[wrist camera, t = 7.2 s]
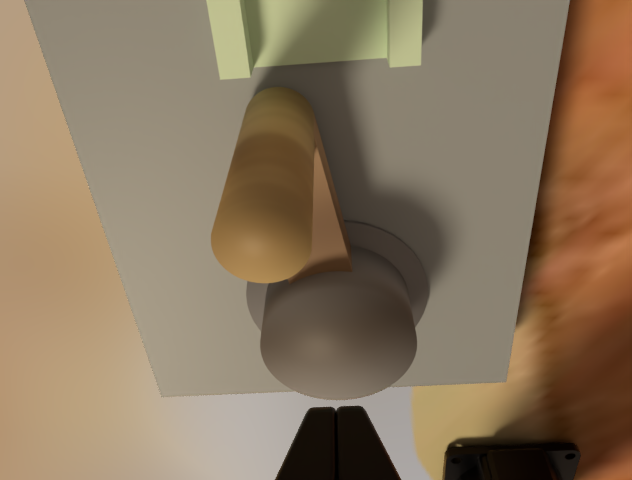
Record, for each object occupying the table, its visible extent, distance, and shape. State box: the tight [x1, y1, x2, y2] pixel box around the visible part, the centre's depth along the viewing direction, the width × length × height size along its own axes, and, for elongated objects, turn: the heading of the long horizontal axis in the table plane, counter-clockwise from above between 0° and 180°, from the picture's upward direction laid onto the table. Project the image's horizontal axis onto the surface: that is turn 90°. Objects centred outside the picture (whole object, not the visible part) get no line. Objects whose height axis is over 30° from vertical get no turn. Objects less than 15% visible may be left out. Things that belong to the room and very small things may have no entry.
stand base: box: [24, 0, 570, 397], centre depth 19 cm, size 16×14×3 cm
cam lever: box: [211, 87, 417, 400], centre depth 16 cm, size 10×5×6 cm, turn 15°
